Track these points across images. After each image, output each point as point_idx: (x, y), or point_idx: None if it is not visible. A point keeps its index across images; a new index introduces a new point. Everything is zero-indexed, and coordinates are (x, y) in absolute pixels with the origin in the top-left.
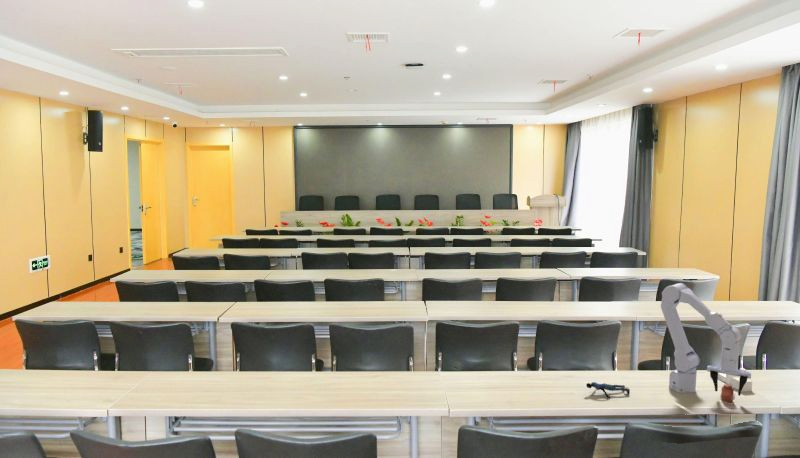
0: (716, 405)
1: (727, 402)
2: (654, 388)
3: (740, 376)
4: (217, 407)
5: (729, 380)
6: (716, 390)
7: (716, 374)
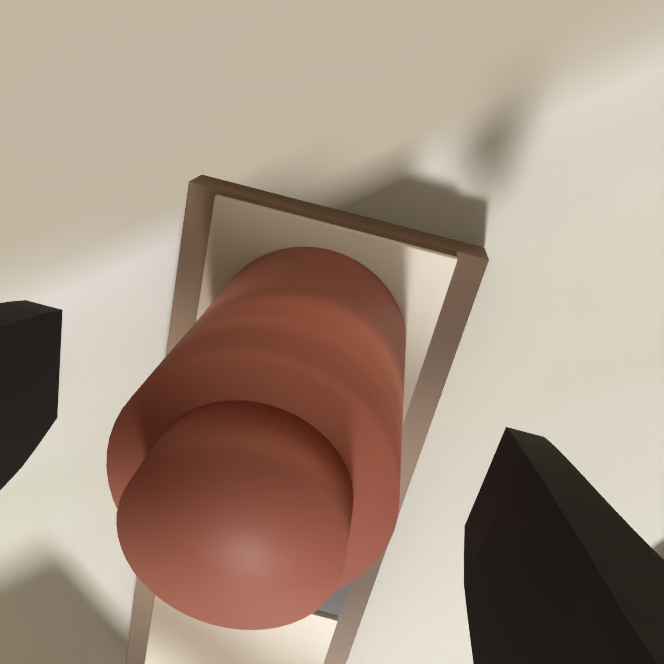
0: (527, 149)
1: (314, 250)
2: None
3: None
4: None
5: None
6: (526, 440)
7: None
